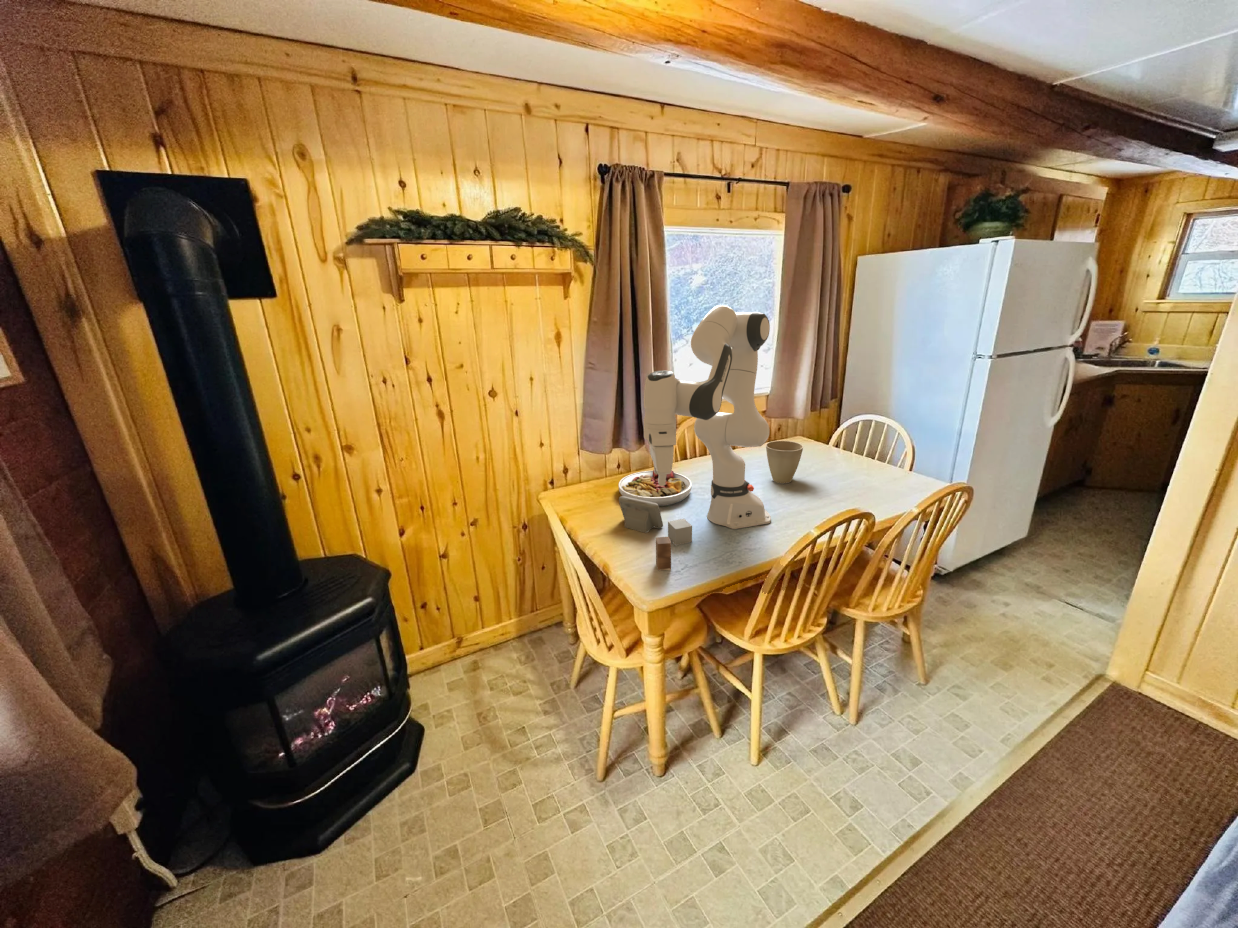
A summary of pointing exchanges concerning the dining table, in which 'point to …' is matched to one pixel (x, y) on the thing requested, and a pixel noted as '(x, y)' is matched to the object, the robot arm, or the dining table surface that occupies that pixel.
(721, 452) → the robot arm
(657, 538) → the walnut post
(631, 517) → the digital clock
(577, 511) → the dining table surface
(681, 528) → the grey cube
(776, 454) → the plant pot
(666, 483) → the bowl
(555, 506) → the dining table surface
